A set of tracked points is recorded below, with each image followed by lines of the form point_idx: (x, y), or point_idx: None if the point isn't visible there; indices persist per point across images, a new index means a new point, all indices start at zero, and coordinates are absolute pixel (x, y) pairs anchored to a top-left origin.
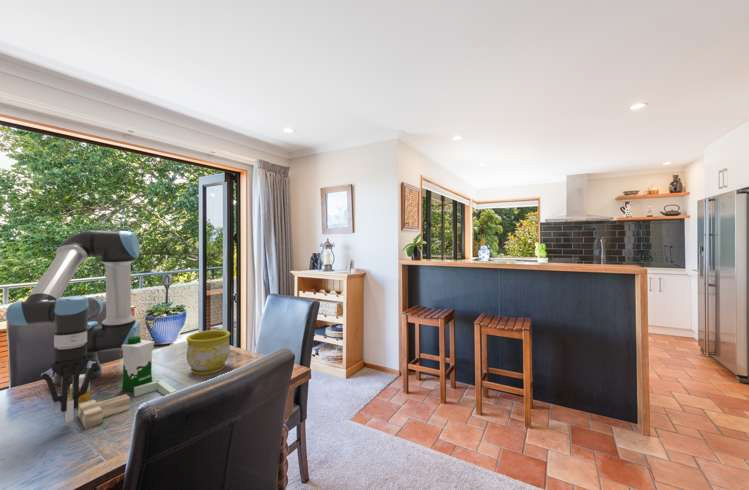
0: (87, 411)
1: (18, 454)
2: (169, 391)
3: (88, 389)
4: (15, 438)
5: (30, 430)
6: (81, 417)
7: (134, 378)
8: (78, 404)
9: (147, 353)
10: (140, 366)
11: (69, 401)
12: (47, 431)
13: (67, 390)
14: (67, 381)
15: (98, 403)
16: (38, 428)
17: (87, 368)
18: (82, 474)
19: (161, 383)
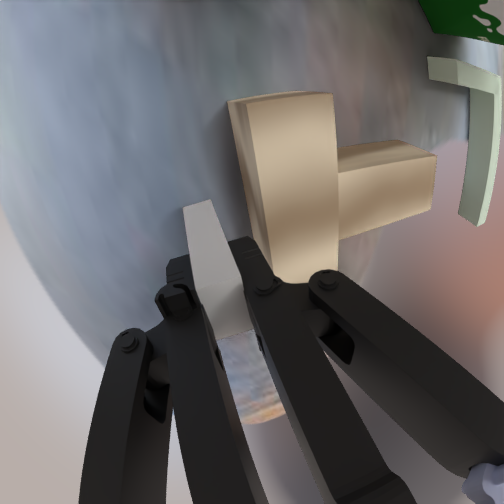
0: (288, 269)
1: (102, 338)
2: (480, 215)
3: None
4: (27, 219)
5: (48, 165)
6: (250, 200)
7: (480, 26)
8: (245, 108)
9: None
10: None
11: (228, 332)
12: (121, 219)
13: (239, 419)
14: (264, 501)
15: (342, 192)
16: (73, 160)
17: (496, 449)
18: (254, 415)
19: (496, 119)
